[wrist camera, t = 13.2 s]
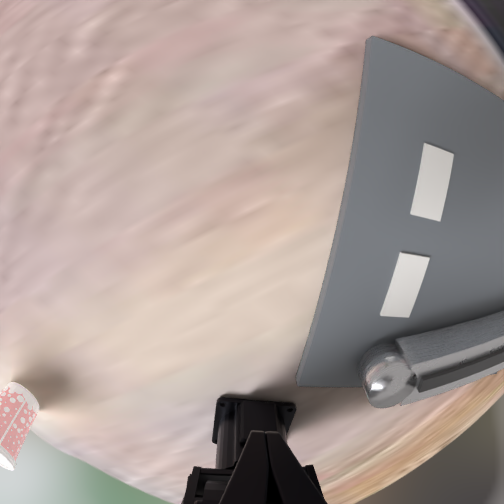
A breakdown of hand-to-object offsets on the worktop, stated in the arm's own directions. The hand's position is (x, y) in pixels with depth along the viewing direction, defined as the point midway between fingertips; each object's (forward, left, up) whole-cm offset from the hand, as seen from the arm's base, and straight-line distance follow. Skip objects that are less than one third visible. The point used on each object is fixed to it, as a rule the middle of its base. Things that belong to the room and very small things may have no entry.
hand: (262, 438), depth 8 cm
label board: (+4, -16, -12) cm, 20 cm away
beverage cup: (-19, +23, -12) cm, 32 cm away
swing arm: (-3, -17, -10) cm, 21 cm away
